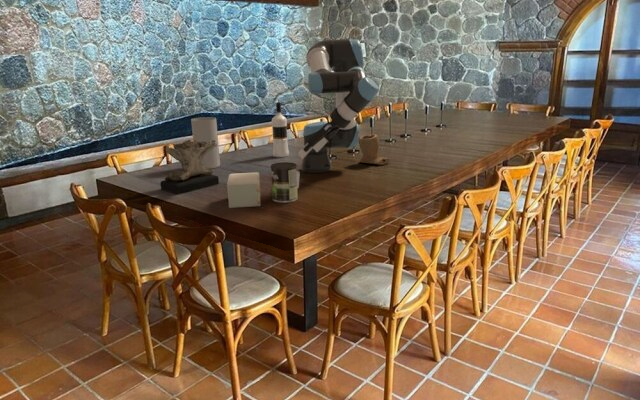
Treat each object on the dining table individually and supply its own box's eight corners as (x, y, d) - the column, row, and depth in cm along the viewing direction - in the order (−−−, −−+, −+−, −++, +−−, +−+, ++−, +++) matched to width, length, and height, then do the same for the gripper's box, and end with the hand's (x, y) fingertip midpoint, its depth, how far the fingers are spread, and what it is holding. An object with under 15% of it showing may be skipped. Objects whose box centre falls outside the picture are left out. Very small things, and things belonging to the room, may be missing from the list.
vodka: (269, 156, 286) (266, 102, 277) (283, 153, 291) (280, 101, 283) (279, 158, 279) (276, 103, 270) (292, 156, 284) (290, 102, 276)
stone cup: (353, 164, 261) (353, 135, 256) (367, 159, 269) (366, 132, 265) (378, 167, 251) (378, 137, 247) (391, 163, 260) (391, 134, 256)
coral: (207, 178, 240) (203, 133, 234) (233, 185, 226) (229, 137, 220) (160, 189, 223) (154, 141, 217) (185, 197, 209) (179, 146, 203)
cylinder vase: (214, 169, 257) (210, 120, 249) (191, 169, 259) (186, 120, 252) (223, 164, 268) (219, 117, 261) (202, 163, 271) (197, 117, 264)
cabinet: (260, 195, 209) (259, 171, 206) (260, 207, 193) (259, 182, 190) (231, 197, 208) (229, 173, 205) (228, 209, 192) (226, 183, 189)
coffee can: (277, 204, 196) (275, 169, 192) (268, 197, 205) (266, 164, 201) (302, 200, 200) (300, 165, 196) (292, 194, 209) (290, 161, 205)
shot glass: (300, 185, 223) (299, 169, 221) (300, 189, 216) (299, 173, 214) (284, 185, 223) (284, 170, 221) (284, 190, 216) (283, 174, 214)
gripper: (338, 126, 171) (300, 166, 181) (361, 117, 193) (326, 154, 203) (323, 110, 172) (286, 151, 182) (348, 103, 194) (314, 140, 204)
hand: (307, 152), depth 193 cm, fingers open, 13 cm apart
